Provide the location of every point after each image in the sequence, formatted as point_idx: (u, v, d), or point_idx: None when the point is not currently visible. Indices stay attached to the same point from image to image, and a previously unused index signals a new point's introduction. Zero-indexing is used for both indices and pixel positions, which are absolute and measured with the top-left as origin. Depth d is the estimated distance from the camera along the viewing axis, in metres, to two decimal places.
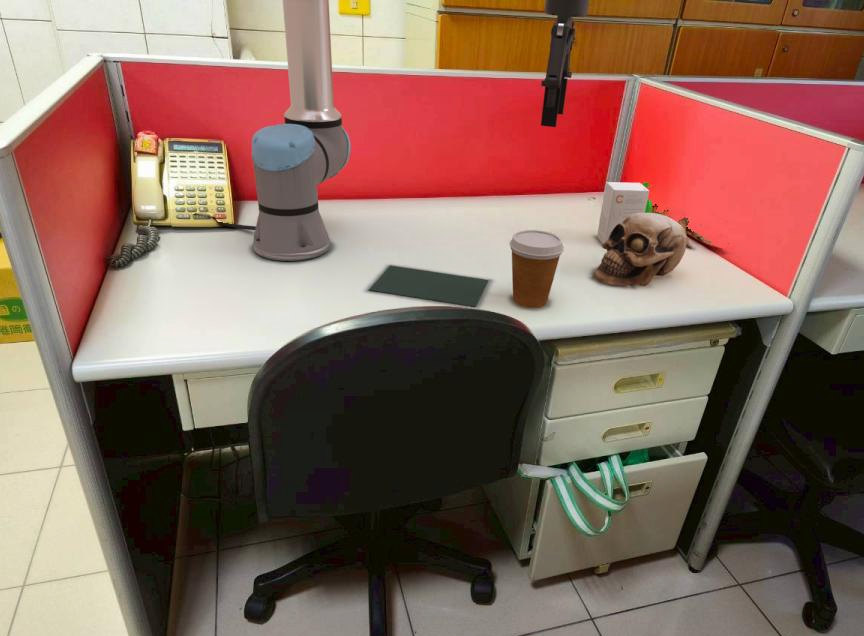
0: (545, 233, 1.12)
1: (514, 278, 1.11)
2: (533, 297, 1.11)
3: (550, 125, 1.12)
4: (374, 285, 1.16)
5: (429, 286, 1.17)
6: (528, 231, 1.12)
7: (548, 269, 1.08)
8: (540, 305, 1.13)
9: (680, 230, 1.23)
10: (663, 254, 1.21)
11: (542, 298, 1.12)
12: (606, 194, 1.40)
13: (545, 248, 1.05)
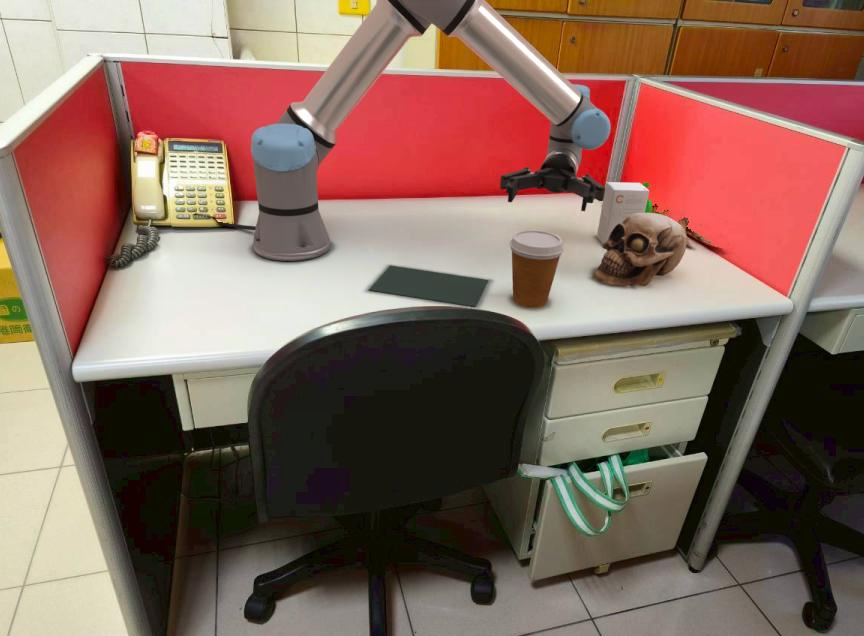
0: (545, 233, 1.12)
1: (514, 278, 1.11)
2: (533, 297, 1.11)
3: None
4: (374, 285, 1.16)
5: (429, 286, 1.17)
6: (528, 231, 1.12)
7: (548, 269, 1.08)
8: (540, 305, 1.13)
9: (680, 230, 1.23)
10: (663, 254, 1.21)
11: (543, 298, 1.12)
12: (606, 194, 1.40)
13: (545, 248, 1.05)
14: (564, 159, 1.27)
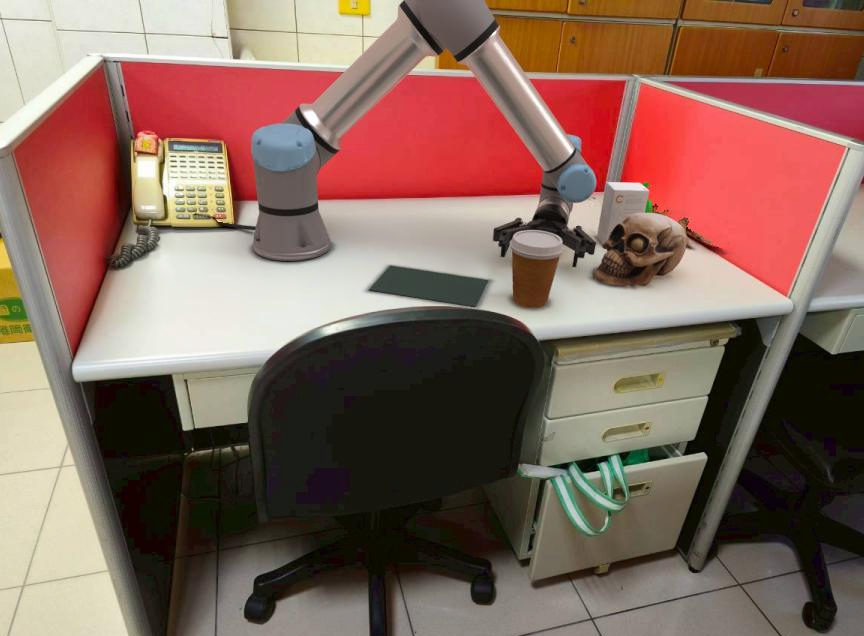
0: (545, 233, 1.12)
1: (514, 278, 1.11)
2: (533, 297, 1.11)
3: None
4: (374, 285, 1.16)
5: (429, 286, 1.17)
6: (528, 231, 1.12)
7: (548, 269, 1.08)
8: (540, 305, 1.13)
9: (680, 230, 1.23)
10: (663, 254, 1.21)
11: (543, 298, 1.12)
12: (606, 194, 1.40)
13: (545, 248, 1.05)
14: (556, 210, 1.30)
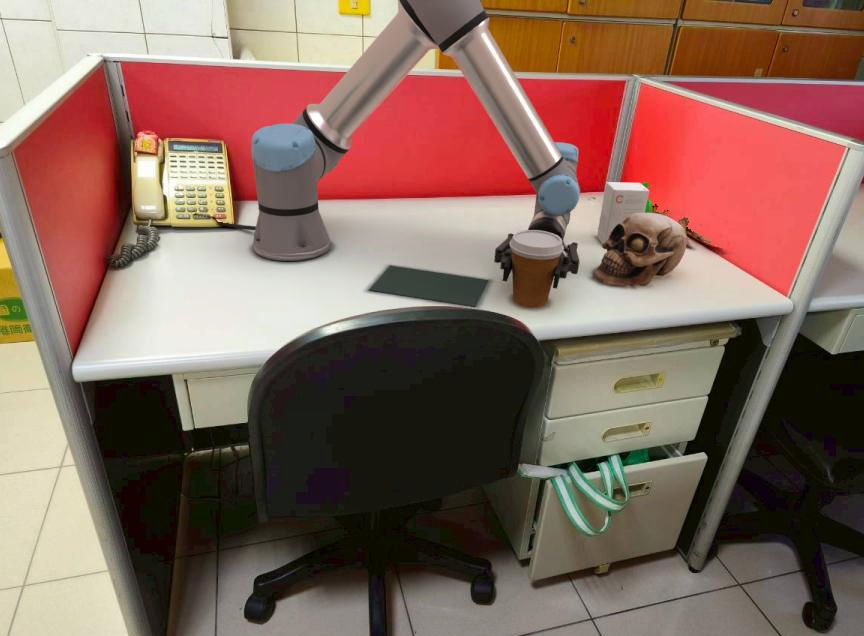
0: (545, 233, 1.12)
1: (514, 278, 1.11)
2: (533, 297, 1.11)
3: (557, 283, 1.07)
4: (374, 285, 1.16)
5: (429, 286, 1.17)
6: (528, 231, 1.12)
7: (548, 269, 1.08)
8: (540, 305, 1.13)
9: (680, 230, 1.23)
10: (663, 254, 1.21)
11: (542, 298, 1.12)
12: (606, 194, 1.40)
13: (545, 248, 1.05)
14: (551, 224, 1.22)
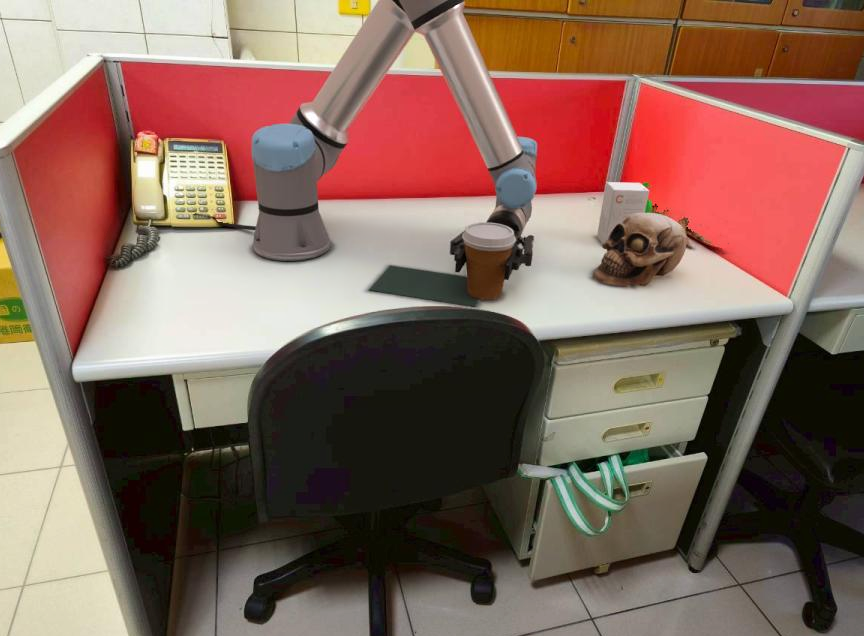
0: (498, 225, 1.13)
1: (467, 270, 1.12)
2: (486, 288, 1.12)
3: (508, 274, 1.08)
4: (374, 285, 1.16)
5: (429, 286, 1.17)
6: (482, 223, 1.13)
7: (500, 261, 1.09)
8: (494, 297, 1.14)
9: (680, 230, 1.23)
10: (663, 254, 1.21)
11: (496, 289, 1.13)
12: (606, 194, 1.40)
13: (495, 240, 1.07)
14: (508, 217, 1.23)
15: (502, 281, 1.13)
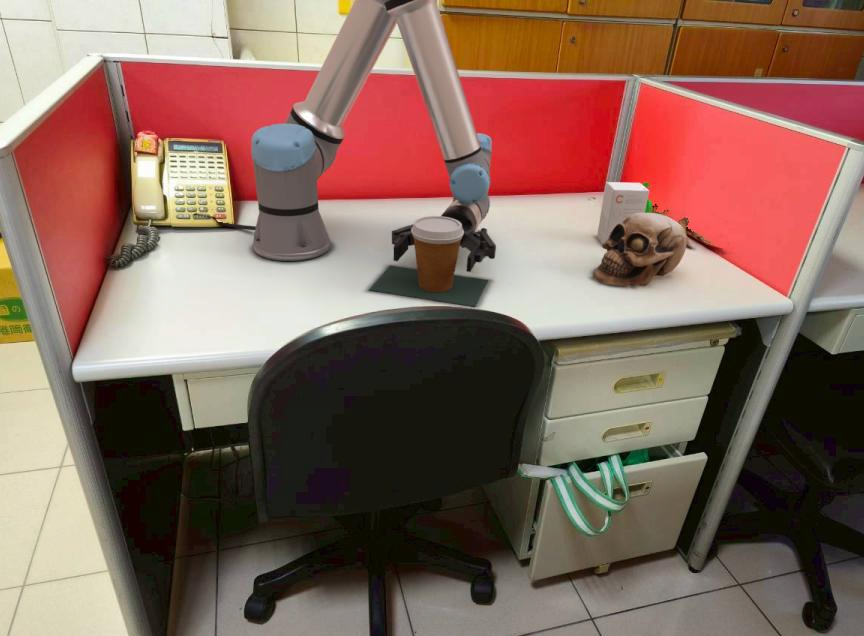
0: (448, 219, 1.15)
1: (417, 263, 1.14)
2: (435, 281, 1.14)
3: (471, 266, 1.11)
4: (374, 285, 1.16)
5: None
6: (431, 217, 1.15)
7: (448, 254, 1.11)
8: (443, 289, 1.15)
9: (680, 230, 1.23)
10: (663, 254, 1.21)
11: (445, 282, 1.15)
12: (606, 194, 1.40)
13: (442, 233, 1.08)
14: (461, 212, 1.25)
15: (451, 274, 1.15)
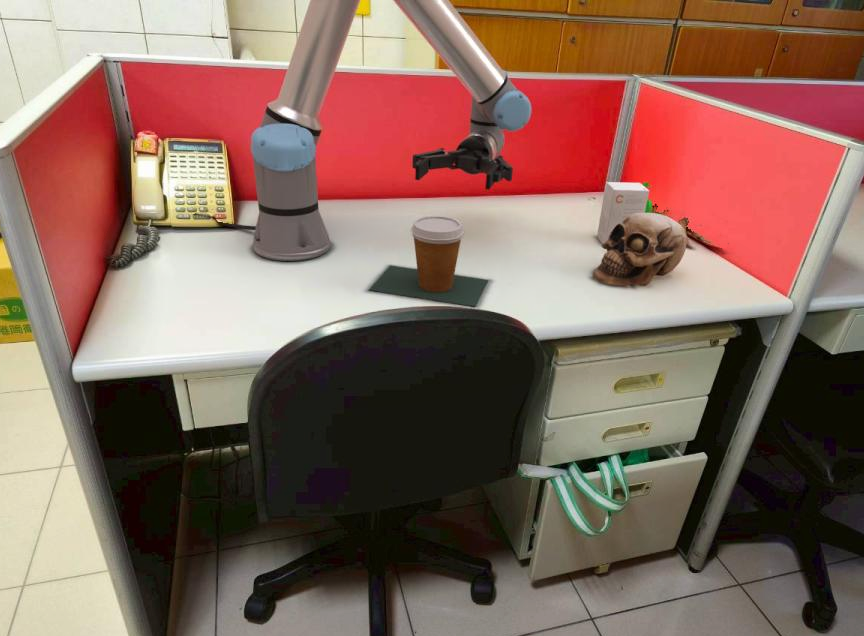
0: (448, 219, 1.15)
1: (417, 263, 1.14)
2: (435, 281, 1.14)
3: (490, 184, 1.16)
4: (374, 285, 1.16)
5: None
6: (431, 217, 1.15)
7: (448, 254, 1.11)
8: (443, 289, 1.15)
9: (680, 230, 1.23)
10: (663, 254, 1.21)
11: (445, 282, 1.15)
12: (606, 194, 1.40)
13: (442, 233, 1.08)
14: (478, 140, 1.30)
15: (451, 274, 1.15)
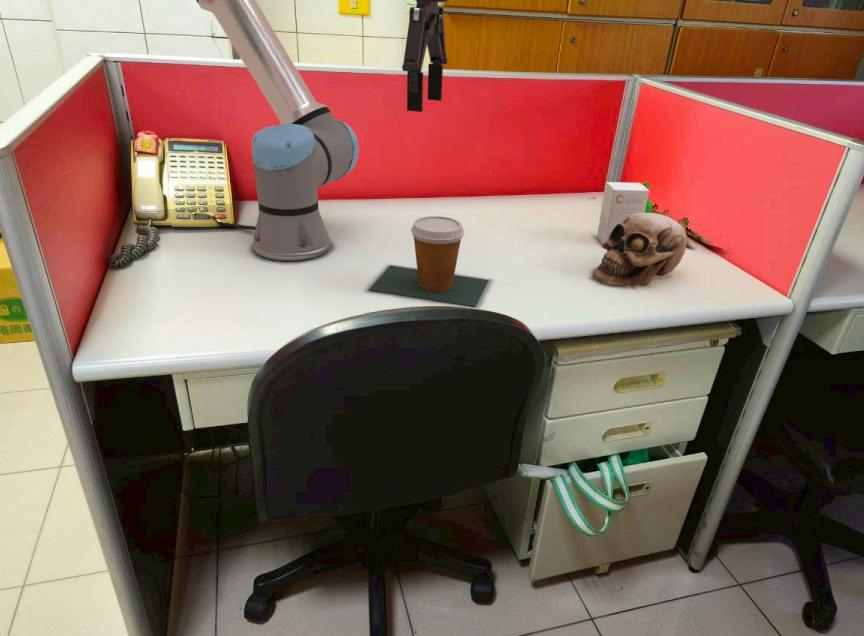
0: (448, 219, 1.15)
1: (417, 263, 1.14)
2: (435, 281, 1.14)
3: (416, 110, 1.13)
4: (374, 285, 1.16)
5: None
6: (431, 217, 1.15)
7: (448, 254, 1.11)
8: (443, 289, 1.15)
9: (680, 230, 1.23)
10: (663, 254, 1.21)
11: (445, 282, 1.15)
12: (606, 194, 1.40)
13: (442, 233, 1.08)
14: None
15: (451, 274, 1.15)
